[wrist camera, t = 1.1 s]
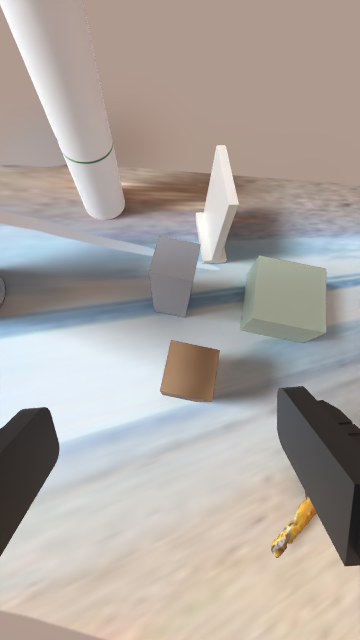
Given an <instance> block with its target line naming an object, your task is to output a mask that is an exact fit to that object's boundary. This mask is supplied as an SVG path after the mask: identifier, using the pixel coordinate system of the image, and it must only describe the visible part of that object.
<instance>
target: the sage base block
mask: <svg viewBox="0 0 360 640" xmlns="http://www.w3.org/2000/svg"><path fill="white" fill-rule="evenodd" d="M240 330H242V331H246V332H251V333H256V334H261V335H266V336H271V337H276V338H280V339H285V340H290V341H295V342H300V343H305V342H307V341H309V340H312V339H314V338H316V337H319V336H321V335H323V334H325V333H326V269H325V268H320V267H315V266H310V265H305V264H300V263H295V262H290V261H285V260H280V259H275V258H269V257H264V256H258V258H257V259H256V261H255V263H254V264H253V266H252V267H251V269H250V271H249V272H248V274H247V278H246V286H245V294H244V302H243V310H242V319H241V327H240Z"/></svg>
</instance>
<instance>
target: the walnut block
mask: <svg viewBox="0 0 360 640" xmlns="http://www.w3.org/2000/svg"><path fill="white" fill-rule="evenodd" d="M219 352H220V350H217V349H212V348H207V347H202V346H197V345H192V344H188V343H183V342H178V341H173V340H171V343H170V347H169V352H168V356H167V361H166V366H165V370H164V375H163V379H162V384H161V389H160V391H161V393H162V395H166V396H171V397H176V398H181V399H185V400H190V401H195V402H212V399H213V393H214V386H215V379H216V372H217V365H218V359H219Z"/></svg>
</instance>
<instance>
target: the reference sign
mask: <svg viewBox="0 0 360 640" xmlns="http://www.w3.org/2000/svg"><path fill="white" fill-rule="evenodd" d="M238 205H239V203H238V199H237V194H236V190H235V185H234V181H233V177H232V173H231V168H230V163H229V159H228V154H227V150H226V145H218V146H217V147H216V152H215V157H214V162H213V168H212V172H211V178H210V183H209V188H208V193H207V198H206V203H205V209H204V212H199V213H196V224H197V230H198V237H199V244H201V245H200V251H201V257H202V264H211V263H226V260H227V258H226V252H225V247H224V246H225V243H226V240H227V235H228V233H229V230H230V227H231V224H232V222H233V219H234V216H235V213H236V211H237V208H238Z"/></svg>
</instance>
